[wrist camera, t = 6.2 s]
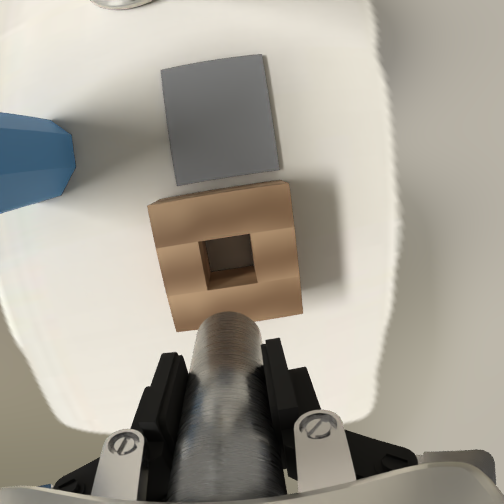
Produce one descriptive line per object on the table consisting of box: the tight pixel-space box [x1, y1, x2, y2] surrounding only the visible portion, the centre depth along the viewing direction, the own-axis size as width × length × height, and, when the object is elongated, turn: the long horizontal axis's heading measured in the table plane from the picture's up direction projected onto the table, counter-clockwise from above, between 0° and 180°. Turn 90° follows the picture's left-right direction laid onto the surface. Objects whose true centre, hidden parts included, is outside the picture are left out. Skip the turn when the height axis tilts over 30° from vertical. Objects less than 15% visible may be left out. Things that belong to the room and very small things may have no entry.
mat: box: [161, 54, 279, 186], centre depth 29 cm, size 12×10×1 cm
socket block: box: [147, 180, 303, 332], centre depth 30 cm, size 12×12×5 cm
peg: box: [166, 311, 287, 503], centre depth 9 cm, size 3×3×11 cm
